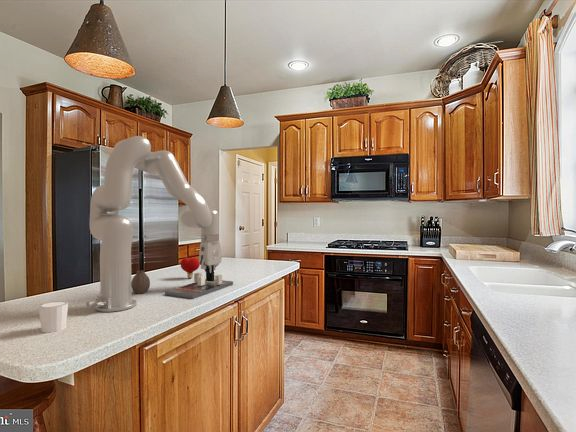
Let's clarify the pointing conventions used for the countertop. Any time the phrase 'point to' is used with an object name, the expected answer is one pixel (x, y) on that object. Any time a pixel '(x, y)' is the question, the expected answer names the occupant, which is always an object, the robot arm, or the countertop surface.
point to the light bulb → (190, 266)
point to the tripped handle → (200, 280)
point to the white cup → (53, 316)
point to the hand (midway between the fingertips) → (210, 280)
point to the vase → (140, 282)
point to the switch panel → (199, 288)
